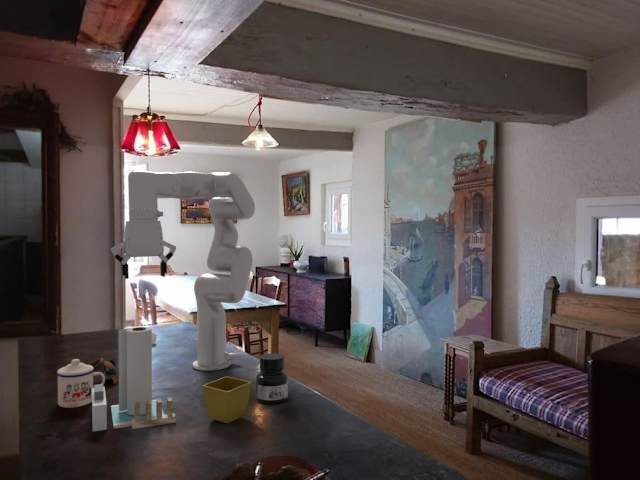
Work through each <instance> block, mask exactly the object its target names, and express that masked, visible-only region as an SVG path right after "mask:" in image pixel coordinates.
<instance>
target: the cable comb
mask: <svg viewBox="0 0 640 480" xmlns="http://www.w3.org/2000/svg"><path fill="white" fill-rule="evenodd" d="M155 400H156V416H151V402H150V400H149V401H146V417H144V418H140V403H139V402H135V419H131V423H132V426H131V429H132V430H135V429H142V428H149V427H154V426H155V427H156V426H161V425H167V424H168V425H169V424H173V423H175V424H176V420H177V417H176V416H177V415H176V414H175V413H174V412H173V411H174V410H173V406H174V405H173V404H174V402H173V399H172V397H167V398H166V414H165V413H164V415H162V409H163V402H162V399H161V398H157V399H155Z"/></svg>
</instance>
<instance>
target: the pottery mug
mask: <svg viewBox="0 0 640 480" xmlns="http://www.w3.org/2000/svg"><path fill="white" fill-rule="evenodd" d="M88 365H91V366H93V368H94V371H93V373H94V372H101V373H103V374H104V373H105V375H106V376H105V377H108V376H109V377H111V378H110V379H111V380H112V382H113V385H115V384H117V383H119V374H118V373H117V370H116V365H117V364H116V361H115V359H114V358H112V357H111V358H110V357H109V358H107V359H104V358H103V357H100V358H97V359H95V360H94V361H92V362H91V363H89V364H88ZM95 376H96V375H95ZM95 376H93V380H95V379H96V378H95Z"/></svg>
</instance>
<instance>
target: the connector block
mask: <svg viewBox="0 0 640 480" xmlns="http://www.w3.org/2000/svg"><path fill="white" fill-rule="evenodd" d="M105 389H106V388H105V386H104V385H103V384H98V383H97V384H93V388H92V402H91V417H92V420H91V421H92V424H91V425H92V432H93V433H94V432H98V431H99V432H100V431H106V430H107V428H108V427H107V425H108V424H107V419H108V418H107V415H108V413H107V411H108V410H107V409H108V407H107V405H108V404H107V398H106V397H107V396H106V390H105Z"/></svg>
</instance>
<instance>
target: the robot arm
mask: <svg viewBox="0 0 640 480" xmlns="http://www.w3.org/2000/svg"><path fill="white" fill-rule="evenodd" d="M127 177H128V178H127V179H128V180H127V183H128V220H126V222H125V226H124V239H123V240H124V241H122V242H121V243H119V244H117V245H115V246H113V247H111V248H110V251H111V254H112V255H113V257H114V259H116V261H118V262H119V263H120V264H121V276H123V277H124V279H125V280H128V279H129V263H128V262H129V260H130V259H131V258H142V257H143V258H145V257H148V258H149V257H158V258H159V259H160V260H161V261H160V270H159V271H160V276H161V277H166V274H167V273H168V265H167V264H168V262H169V260H170V259H172V257H173V256H174V254H175V252H176V249H177V246H176V245H174V244H171V243H169V242H167V241H165V240H164V234H163V229H162V223H161V220H159V218H160V217H164V212H163V211H160V210H159V209H158V206H159V205H158V199H181V200H193V199H194V200H195V199H210V200H209V203H208V211H209V214H210V216H211V217H210V218H211V221H212V223H213V226H214V233H213V238H212V242H211V246H210V249H209V252H208V256H207V259H206V265H207V267H208V269H209V270H210V271H212V272H215V273H204V274H201V275H200V276H198V277H197V278H196V279H195V282H194V285H193V289H194V290H193V291H194V296H195V301H196V315H197V317H196V318H197V319H196V321H197V322H196V323H197V324H196V326H197V327H196V331H197V332H196V333H197V335H196V336H197V337H196V341H197V342H196V344H197V345H196V354H197V355H196V357H197V358H196V359H197V360H195V361H193V362H192V368H193V369H195V370H197V371H207V372H208V371H209V372H211V371H219V370H224V369H227V368H229V367H230V366H231V360H233V359H234V360H238V359H240V352H234V351H233V352H232V351H231V352H228V351H227V349H226V346H227V344H226V343H227V342H226V339H227V338H226V335H227V333H226V332H227V330H226V329H227V328H226V324H227V323H226V322H227V320H226V319H227V315H226V314H227V313H226V311H225V310H226V309H225V308H224V306H223V303H225V304H226V303H227V304H228V303H229V304H238V303H239V302H241V301H242V300H243V298H244V296H245V293H246V290H247V286H248V283H249V279H250V275H251V272H252V268H253V255H252V251H251V250H250V248H249V247H247V246H244V245H238V240H239V232H238V229H237V227H236V226H235V224H234V223H233V220H249V219H251V218H252V217H253V216H254V214H255V211H256V206H255V202H254V201H255V200H254V198H253V196H252V195H251V193H250V192H249V190H248V188H247V187H246V185H245V184H244V182H243V181H242V180H241V178H240V177H239V176H238V175H237V174H236V173H234V172H230V171H228V172H201V171H199V172H197V171H183V172H182V171H181V172H174V173H173V172H169V171H164V172H163V171H162V172H161V171H160V172H159V171H158V172H157V171H156V172H155V171H149V170H132V171H130V172H129V173H128V176H127ZM164 247H166V248H168V249H169V251H168V252H167V253H166V254H164V251H165V250H164V249H165V248H164ZM121 249H123V250H124V251H123V252H124V254H125V255H124V256H123V257H122V256H121V255H120V254H119V252H118V251H119V250H121ZM216 272H217V273H216ZM224 273H227V274H224ZM228 273H229V274H228Z"/></svg>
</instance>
